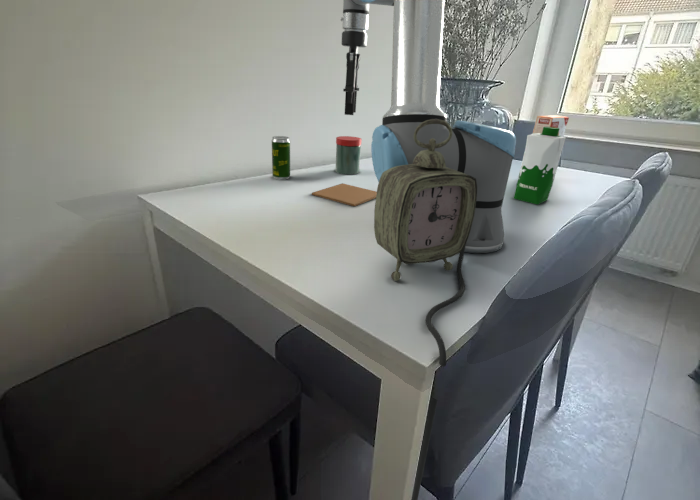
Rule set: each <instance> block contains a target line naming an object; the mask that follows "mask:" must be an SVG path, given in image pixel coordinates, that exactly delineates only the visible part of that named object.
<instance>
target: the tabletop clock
mask: <svg viewBox="0 0 700 500" xmlns="http://www.w3.org/2000/svg"><path fill="white" fill-rule="evenodd" d="M429 124H441V125H444V126H446V128H447V129H448V130H449V137H448V139H446V140H445V141H444V142H441V143H437V144H436V140H435V139H434V138H432V139H430V140H429V144H424V143H421V142H420V141H419V140H417V133H418V131H419V130H420V129H421V128H422V127H423V126H426V125H429ZM452 129H453V127H452V126H451V124H450V123H449V122H448V121H447V122H446V121H444V120H439V119H431V120H426V121H424V122H422V123H421V124H420V125H419V126H418V127H417V128H416V130H415V132H414V141H415V142H416V144H417V145H418V146H420V147H423V148H427V149H428V150H423V151H420V152H419V153H418V154H417V155H416V157H415V159H414V161H413V164H408V165H400V166H395V167H392V168H390V169H388V170H386V171H384V172H383V173H382V175H381V177H380V180H379V182H378V183H377V188H376V192H377V195H376V198H375V202H374V210H373V211H374V215H373V216H374V218H373V219H374V222H373V231H374V239H375V240H376V244H377V245H379V246H380V248H383V249H384V250H385V251H386V252H387V253H389V254H390V255H391V256H392V257H393V258H395V259H396V264H395V265H396V266H395V270H393V271H392V272H391V274H390V278H391V280H392V281H394V282H399V281H400V279H401V277H402V275H401V272H400V269H401V266H402V264H405V265H415V264H416V265H417V264H424V263H425V264H426V263H435V262H437V261H441V260H442V261H443V269H444V270H445V271H447V272H450V271H452V270H453V268H454V265H453V263H452V262H451V261H448V260H447V259H448V258H452V257H454V256H456V255H459V254H460V252H461V251H462V250H463V248H464V246H465V244H466V242H467V240H468V237H469V234H470V230H471V226H472V222H473V219H474V214H475V207H476V200H477V182H476V178H474V177H472V176H470V175H467V174H464V173H462V172H459V171H456V170H453V169H450V168H447V167H446V165H445V159H444V157H443V155H442V154H441V153H440V152H438V151H434V150H435V148H440V147H442V146H444V145H446V144H447V143H448V142H449V141H450V139H451V137H452Z"/></svg>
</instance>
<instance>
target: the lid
mask: <svg viewBox="0 0 700 500" xmlns="http://www.w3.org/2000/svg"><path fill="white" fill-rule="evenodd" d="M362 141H363V140H362V138H361V137H358V136H350V135H343V136H342V135H340V136H336V137H335V144H338V145H343V146H360V145H361V146H362Z"/></svg>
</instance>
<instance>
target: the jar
mask: <svg viewBox="0 0 700 500" xmlns="http://www.w3.org/2000/svg"><path fill="white" fill-rule="evenodd" d="M335 144H336V143H335ZM361 146H362V144H361V145H360V146H343V145H338V144H336V147H335V167H334V168H335V171H334V172H335V173H336V174H341V175H347V176H348V175H351V176H353V175H358V174H359V173H360V165H361V149H362V148H361Z"/></svg>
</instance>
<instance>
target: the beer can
mask: <svg viewBox="0 0 700 500" xmlns="http://www.w3.org/2000/svg"><path fill="white" fill-rule="evenodd" d="M271 138H272V139H271V167H272V168H271V169H272V171H271V173H272V177H273V179H274V180H279V181H282V180H289V179H290V177H291V140H290V137H289V136H284V135H274V136H272V137H271Z"/></svg>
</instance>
